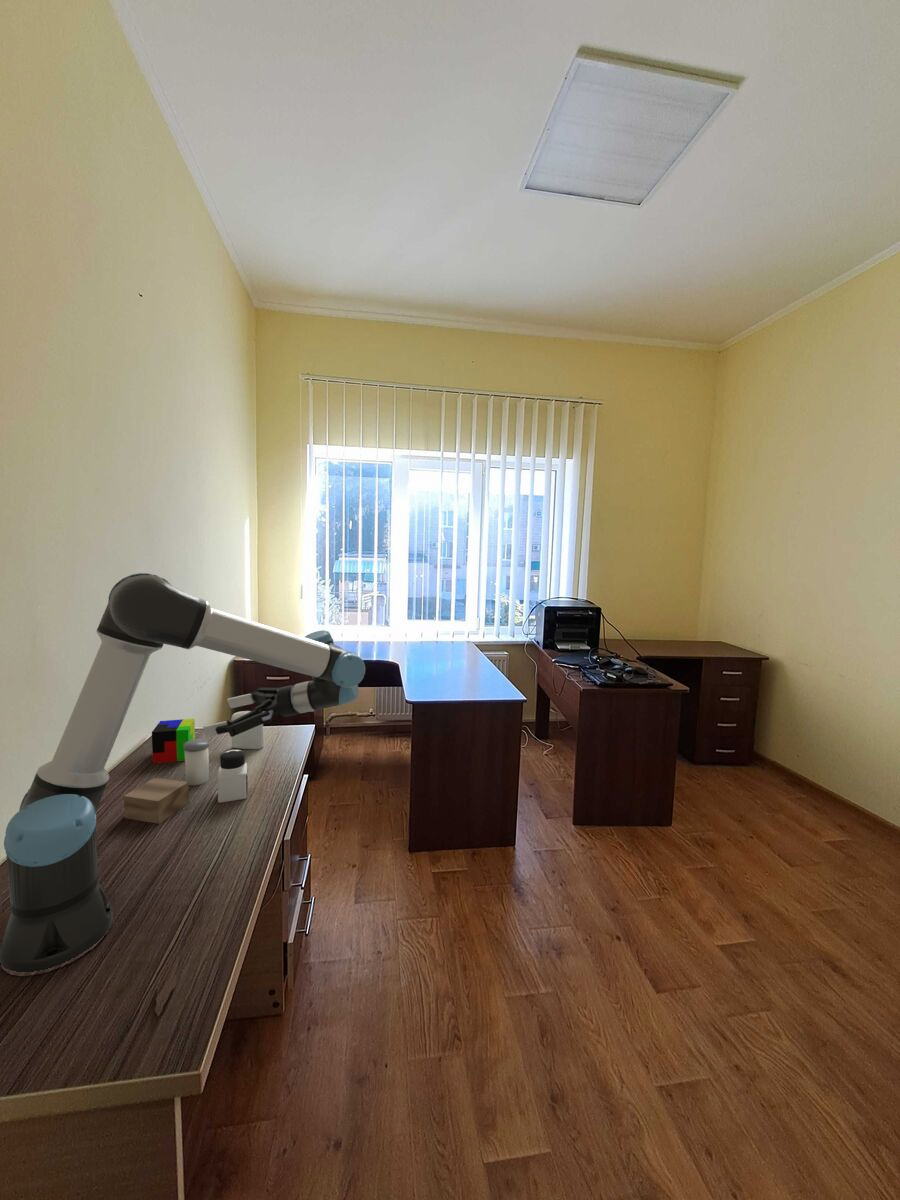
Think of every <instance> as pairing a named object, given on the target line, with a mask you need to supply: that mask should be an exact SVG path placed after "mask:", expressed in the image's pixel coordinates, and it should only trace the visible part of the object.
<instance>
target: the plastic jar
mask: <svg viewBox="0 0 900 1200" xmlns="http://www.w3.org/2000/svg"><path fill="white" fill-rule="evenodd" d="M209 747H210V740H208V739H207V738H195V739H193V740H190V741H187V742H186V743H184V750H185V760H184V770H185V771H184V772H185V775H184V776H185V782H189V786H199V785H203V784H205V783H207V782H208V781H209V780H210V765H209V764H210V762H209Z"/></svg>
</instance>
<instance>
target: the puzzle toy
mask: <svg viewBox="0 0 900 1200" xmlns="http://www.w3.org/2000/svg"><path fill="white" fill-rule="evenodd" d="M195 722H196V721H195V718H185V719H184V718H183V719H170V720H169V719H168V720H160V721H159V722H158V723H157V724H156V726H155V727H154V729H153V730H152V732H151V745H152V746H151V748H152V749H151V750H152V764H160V763H161V764H162V763H173V762H183V761H184V762H185V750H184V743H186V742H187V741H190V740H193V739H196V731H195V729H196V728H195V726H196V725H195Z"/></svg>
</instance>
